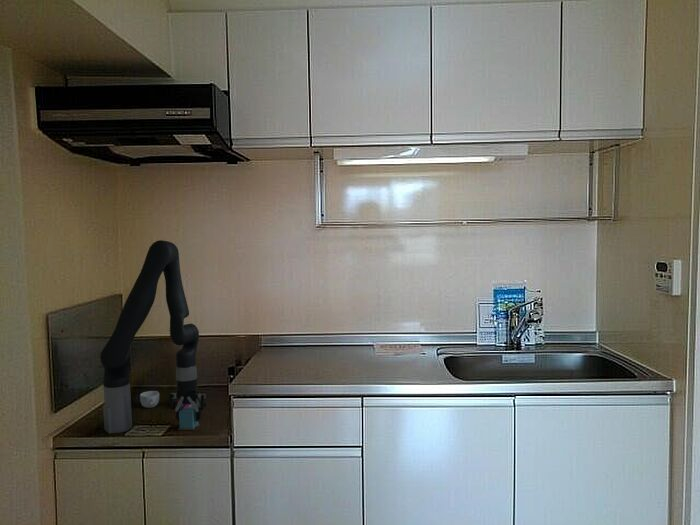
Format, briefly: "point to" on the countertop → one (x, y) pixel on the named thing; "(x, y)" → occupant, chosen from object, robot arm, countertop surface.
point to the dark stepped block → (189, 429)
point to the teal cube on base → (187, 418)
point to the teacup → (149, 399)
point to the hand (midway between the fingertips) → (188, 420)
